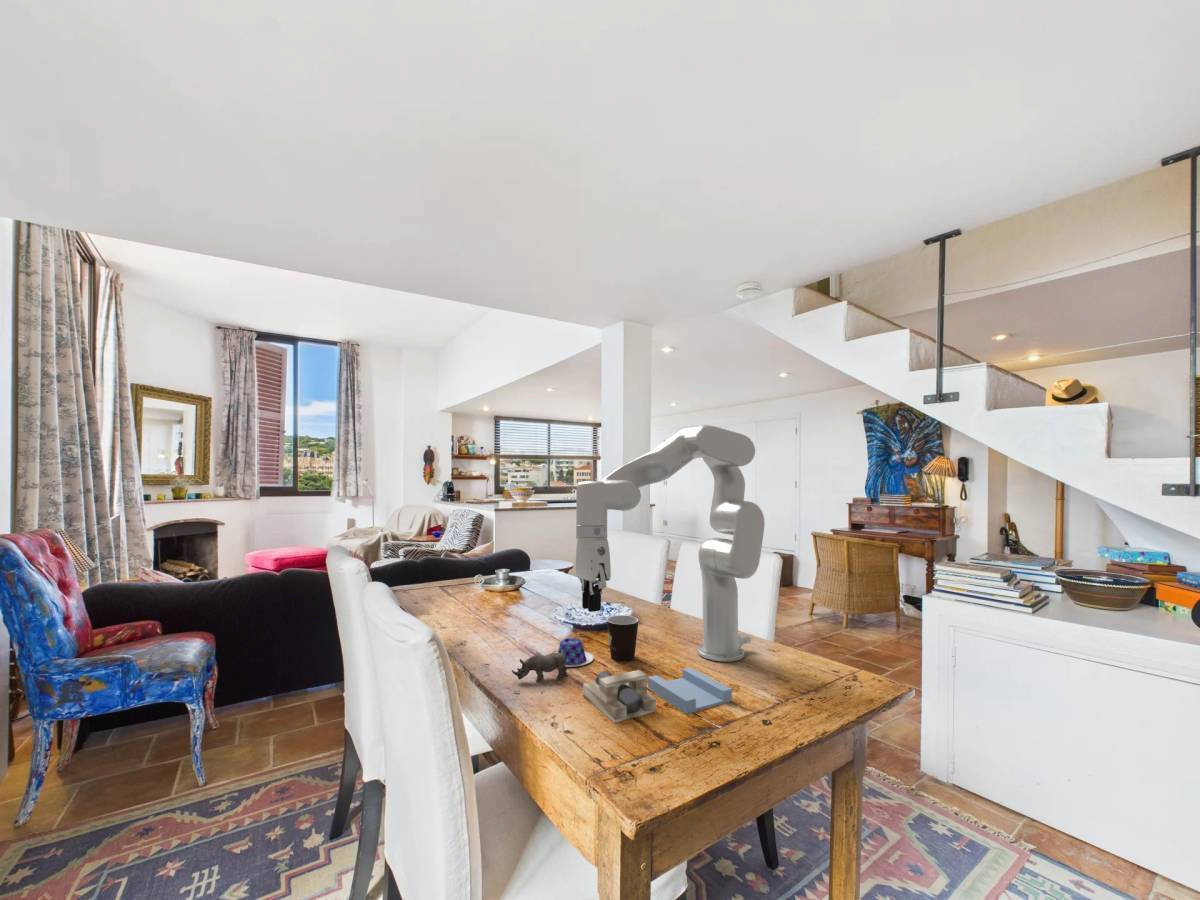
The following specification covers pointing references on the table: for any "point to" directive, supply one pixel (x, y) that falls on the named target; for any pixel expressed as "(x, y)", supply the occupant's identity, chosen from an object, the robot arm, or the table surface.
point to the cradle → (691, 691)
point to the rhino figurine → (543, 665)
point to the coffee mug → (622, 637)
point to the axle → (625, 694)
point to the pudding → (574, 652)
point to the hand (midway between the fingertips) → (591, 608)
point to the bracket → (607, 695)
